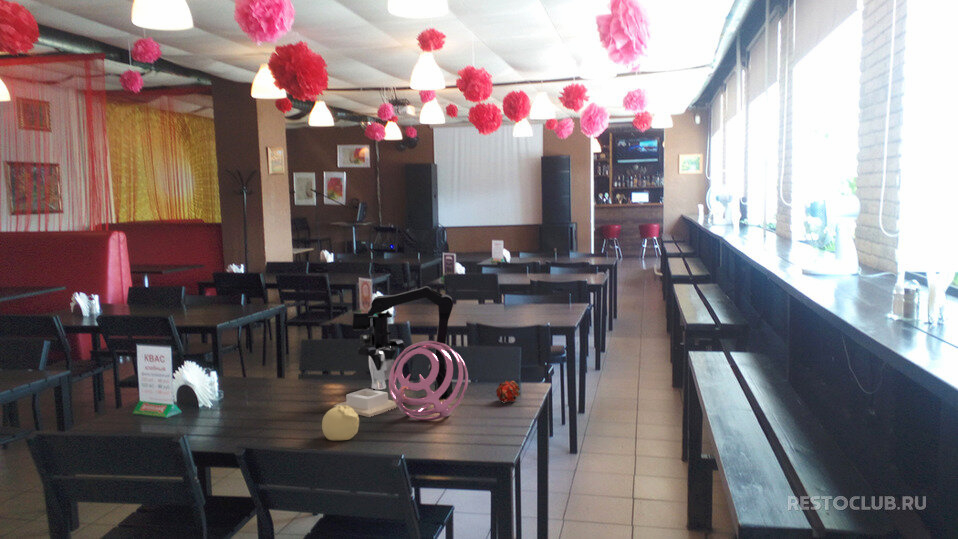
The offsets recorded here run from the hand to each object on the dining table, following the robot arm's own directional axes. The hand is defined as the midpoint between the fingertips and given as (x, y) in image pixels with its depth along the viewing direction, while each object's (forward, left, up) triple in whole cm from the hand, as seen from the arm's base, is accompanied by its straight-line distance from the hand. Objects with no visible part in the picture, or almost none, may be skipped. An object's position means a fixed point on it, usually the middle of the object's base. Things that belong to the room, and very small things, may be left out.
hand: (382, 369), depth 268 cm
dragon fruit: (-43, -23, -12) cm, 50 cm away
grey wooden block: (0, 0, -4) cm, 4 cm away
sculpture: (-21, +38, -12) cm, 45 cm away
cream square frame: (-2, +10, -12) cm, 16 cm away
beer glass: (+15, -11, -12) cm, 23 cm away
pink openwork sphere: (-30, +7, -12) cm, 33 cm away
